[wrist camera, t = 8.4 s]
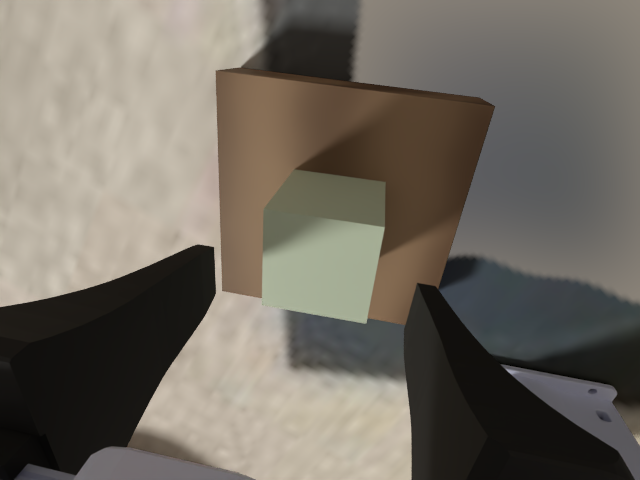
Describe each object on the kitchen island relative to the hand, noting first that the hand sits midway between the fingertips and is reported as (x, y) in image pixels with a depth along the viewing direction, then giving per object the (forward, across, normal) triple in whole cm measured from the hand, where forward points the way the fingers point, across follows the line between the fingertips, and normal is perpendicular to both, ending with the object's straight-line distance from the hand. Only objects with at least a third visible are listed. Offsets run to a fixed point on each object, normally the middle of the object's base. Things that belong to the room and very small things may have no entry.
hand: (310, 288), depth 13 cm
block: (+6, 0, 0) cm, 6 cm away
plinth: (+9, 0, 0) cm, 9 cm away
